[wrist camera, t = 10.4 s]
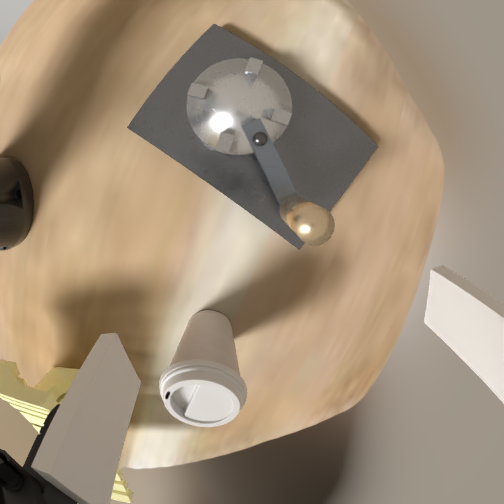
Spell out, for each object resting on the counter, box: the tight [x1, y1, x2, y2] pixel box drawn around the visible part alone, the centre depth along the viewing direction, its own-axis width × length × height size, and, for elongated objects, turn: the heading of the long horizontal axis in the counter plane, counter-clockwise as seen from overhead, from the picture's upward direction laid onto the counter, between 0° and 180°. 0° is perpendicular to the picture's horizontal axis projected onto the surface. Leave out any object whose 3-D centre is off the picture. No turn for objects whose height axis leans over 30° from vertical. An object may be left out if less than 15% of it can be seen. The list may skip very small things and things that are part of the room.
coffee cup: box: [159, 310, 247, 427], centre depth 32 cm, size 10×10×15 cm
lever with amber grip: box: [187, 57, 335, 246], centre depth 24 cm, size 20×11×12 cm, turn 26°
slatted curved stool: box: [0, 360, 133, 503], centre depth 34 cm, size 30×16×18 cm, turn 5°
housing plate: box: [127, 24, 378, 250], centre depth 30 cm, size 26×17×2 cm, turn 53°
